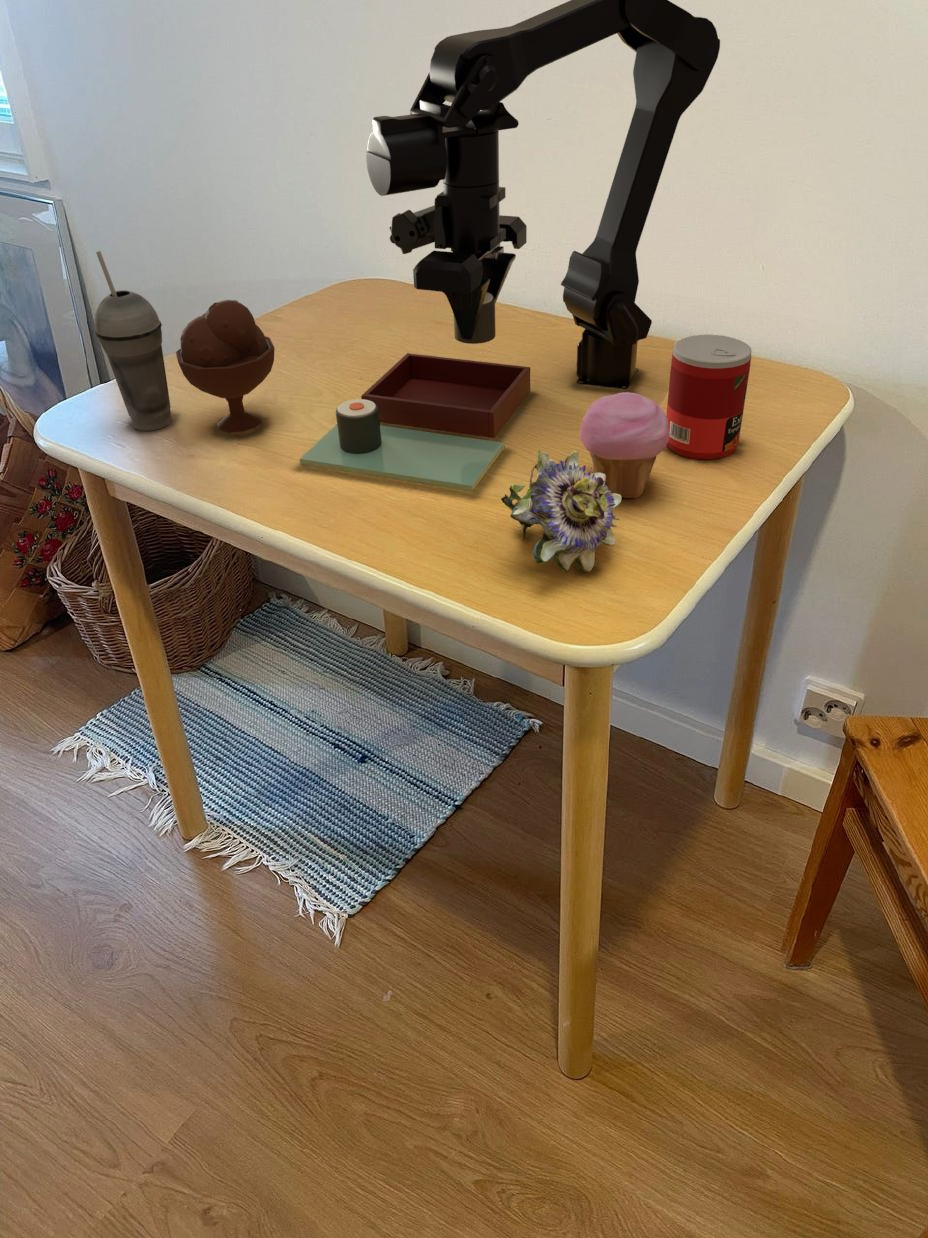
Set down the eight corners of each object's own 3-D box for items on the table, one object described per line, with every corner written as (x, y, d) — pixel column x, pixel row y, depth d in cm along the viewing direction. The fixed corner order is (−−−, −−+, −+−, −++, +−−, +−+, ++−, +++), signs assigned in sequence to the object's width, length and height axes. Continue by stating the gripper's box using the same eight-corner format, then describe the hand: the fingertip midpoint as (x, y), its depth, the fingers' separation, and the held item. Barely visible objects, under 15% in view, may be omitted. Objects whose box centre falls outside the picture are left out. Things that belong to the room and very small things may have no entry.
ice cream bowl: (276, 400, 119) (256, 278, 110) (293, 438, 110) (272, 309, 101) (190, 415, 116) (161, 291, 107) (199, 455, 108) (169, 324, 99)
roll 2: (501, 331, 108) (500, 290, 106) (487, 345, 105) (486, 304, 102) (463, 326, 110) (461, 286, 107) (448, 341, 106) (446, 300, 104)
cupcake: (658, 514, 94) (667, 420, 88) (570, 505, 96) (574, 412, 90) (668, 471, 101) (677, 381, 95) (586, 464, 103) (590, 375, 97)
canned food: (738, 463, 102) (753, 363, 95) (662, 458, 103) (671, 360, 96) (737, 430, 107) (751, 335, 101) (664, 426, 109) (673, 332, 102)
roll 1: (388, 437, 107) (384, 399, 104) (370, 456, 103) (366, 417, 101) (351, 432, 108) (346, 394, 105) (332, 450, 105) (327, 411, 102)
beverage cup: (174, 435, 112) (132, 260, 100) (113, 436, 112) (64, 262, 100) (189, 408, 118) (151, 240, 106) (131, 410, 118) (86, 242, 106)
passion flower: (582, 614, 90) (560, 570, 79) (491, 560, 95) (458, 510, 84) (648, 518, 92) (635, 461, 81) (555, 469, 96) (531, 408, 85)
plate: (504, 452, 105) (504, 442, 105) (472, 496, 98) (472, 485, 97) (342, 429, 112) (341, 419, 111) (300, 468, 104) (299, 458, 104)
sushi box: (530, 394, 117) (530, 366, 115) (494, 442, 107) (493, 412, 105) (409, 380, 122) (407, 352, 120) (364, 424, 112) (361, 395, 110)
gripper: (433, 157, 107) (440, 297, 116) (359, 198, 93) (373, 353, 103) (528, 161, 103) (527, 305, 113) (466, 205, 90) (471, 365, 99)
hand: (475, 330), depth 107 cm, fingers closed on roll 2, 4 cm apart
